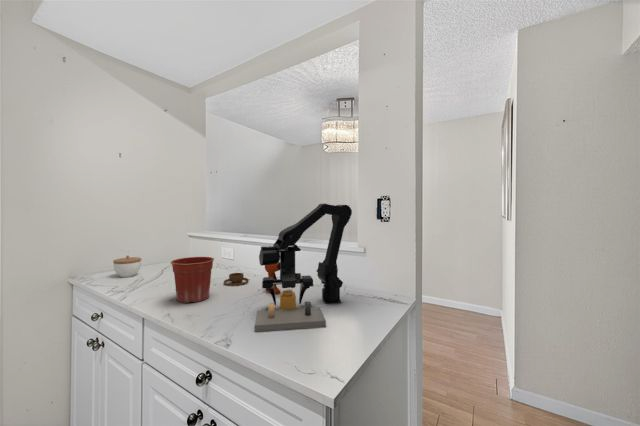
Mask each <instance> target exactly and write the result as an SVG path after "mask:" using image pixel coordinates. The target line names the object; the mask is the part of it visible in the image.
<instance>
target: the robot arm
mask: <svg viewBox="0 0 640 426" xmlns="http://www.w3.org/2000/svg"><path fill="white" fill-rule="evenodd" d="M352 214H353V211H352V208H351V207H350V205H348V204H336V205H334V204H328V203H319V204H318V205H317V206H316V207H315V208H314V209H313V210H311V211H310V212H309V213H307V214H306V215H305V216H304V217H302V218H301V219H300V220H299V221H298V222H296V223H294V224H293V225H289V226H287V227H286V228H284V229H283V230H280V232H279V233H278V237H277V239H276V240H275V242H274V243H273V245H272V246H271V245H270V246H266V245H265V246H264V245H263V246H262V245H261V246H260V250H259V255H258V260H259V264H260V266H261V267H262V266H265V265H274V264H277V262H280V270H279V279H278V278H277V279H276V280H273V277H268V276H264V277H262V283H261V286H262V287H261V288H262V289H265V291H266V290H269V292H270V293H271V294H270V293H269V294H270V295H271V297H272V301H273V304H275V306H277V299H276V294H275V289H274V285H276V286H278V285H281V288H282V289H290V288H291V289H295V288H296V284H297V285H298V284H299V296H298V297H299V298H298V305H301V304H302V301H303V297H304V295H305V292H306V291H307V290H308V289H310V288H311V287H313V286H314V279H313V277H312V276H311V275H302V273H301V272H297V273H296V252H301V248H300V246H299V247H298V245H297V243H298V241H299V240H300V239H301V237H302V235H303V234H304V233H305V232H306V231H307V230H308V229H309V228H310V227H312V226H313V225H314V224H315V223H317V222H318V221H319V220H320V219H321V218H323V217H324V216H325V215H330V216H331V223H332V228H331V231H330V237H329V239H328V245H327V248H326V249H327V250H326V254H325V258H324V259H323V261H321V262H320V261H319V262H318V264H317V265H318V267H317V269H316V273H317V278H318V279H319V280H320V281H321V283H322V284H323V286H322V287H323V288H321V299H322V301H323V302H324V304H335V303H336V304H337V303H342V300H341V288H342V287H343V283H344V282H343V281H342V280H341V279H340V277H338V272H339V269H338V268H339V267H338V264H337V260H338V255H339V252H340V248H341V243H342V239H343V235H344V230H345V227H346V226H347V224H349V221H350V220H351V217H352Z"/></svg>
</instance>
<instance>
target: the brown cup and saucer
mask: <svg viewBox="0 0 640 426" xmlns="http://www.w3.org/2000/svg"><path fill="white" fill-rule="evenodd" d="M249 281H250V279H249V278H247V277H244V273H243V272H232V273H229V274H228V279H224V281H223V284H224V285H225V286H229V287H239V286H240V287H241V286H244V285H246V284H248V283H249ZM213 286H216V284H213Z"/></svg>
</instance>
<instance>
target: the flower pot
mask: <svg viewBox="0 0 640 426" xmlns="http://www.w3.org/2000/svg"><path fill="white" fill-rule="evenodd" d="M214 262H215V258H214V257H210V256H192V257H190V256H189V257H182V258H177V259H173V260H171V261H170V264H171V267H172V272H173V275H174V284H175V285H174V286H175V293H176V294H175V295H176V301H177V302H178V303H182V304H189V303H191V302H193V303H199V302H202V301H205V300H207V299H208V298H210V288H211V280H212V279H211V277H212V269H213V265H214Z"/></svg>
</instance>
